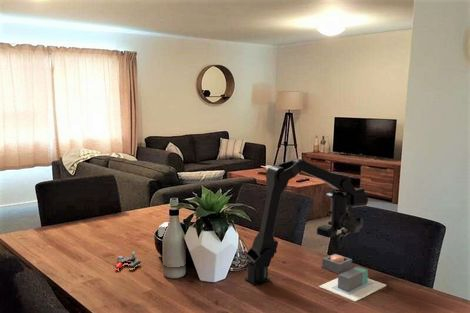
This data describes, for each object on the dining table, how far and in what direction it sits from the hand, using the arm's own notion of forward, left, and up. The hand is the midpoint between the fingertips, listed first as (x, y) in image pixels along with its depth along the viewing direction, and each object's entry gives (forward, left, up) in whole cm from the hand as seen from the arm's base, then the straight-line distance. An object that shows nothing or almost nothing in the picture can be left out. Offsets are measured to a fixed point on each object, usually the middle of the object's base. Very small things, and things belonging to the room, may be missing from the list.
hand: (337, 249), depth 159 cm
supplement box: (-40, +51, -7) cm, 65 cm away
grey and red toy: (-60, +52, -8) cm, 80 cm away
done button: (0, 0, -6) cm, 6 cm away
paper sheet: (-9, -13, -7) cm, 17 cm away
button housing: (0, 0, -7) cm, 7 cm away
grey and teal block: (-9, -13, -6) cm, 17 cm away
